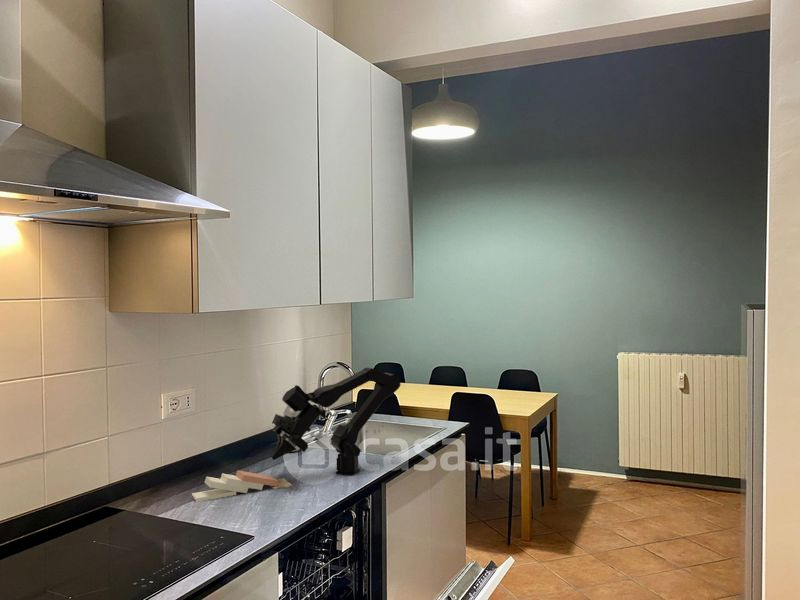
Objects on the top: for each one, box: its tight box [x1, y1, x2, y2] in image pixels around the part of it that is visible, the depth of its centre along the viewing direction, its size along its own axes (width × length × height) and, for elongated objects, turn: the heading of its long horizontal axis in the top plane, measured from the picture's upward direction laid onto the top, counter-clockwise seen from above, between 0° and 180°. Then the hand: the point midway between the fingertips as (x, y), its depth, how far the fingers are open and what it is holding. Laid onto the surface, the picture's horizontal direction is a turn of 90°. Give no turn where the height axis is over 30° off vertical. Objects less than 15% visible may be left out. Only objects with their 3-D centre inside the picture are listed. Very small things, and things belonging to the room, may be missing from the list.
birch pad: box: [268, 478, 293, 490], centre depth 204 cm, size 6×8×1 cm
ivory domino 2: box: [204, 476, 249, 494], centre depth 195 cm, size 2×6×12 cm
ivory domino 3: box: [219, 472, 265, 491], centre depth 197 cm, size 2×6×12 cm
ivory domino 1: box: [191, 488, 237, 501], centre depth 193 cm, size 2×6×12 cm
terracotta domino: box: [235, 470, 278, 486], centre depth 200 cm, size 2×6×12 cm
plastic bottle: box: [283, 404, 300, 453], centre depth 244 cm, size 6×7×20 cm
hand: (272, 458), depth 203 cm, fingers closed
